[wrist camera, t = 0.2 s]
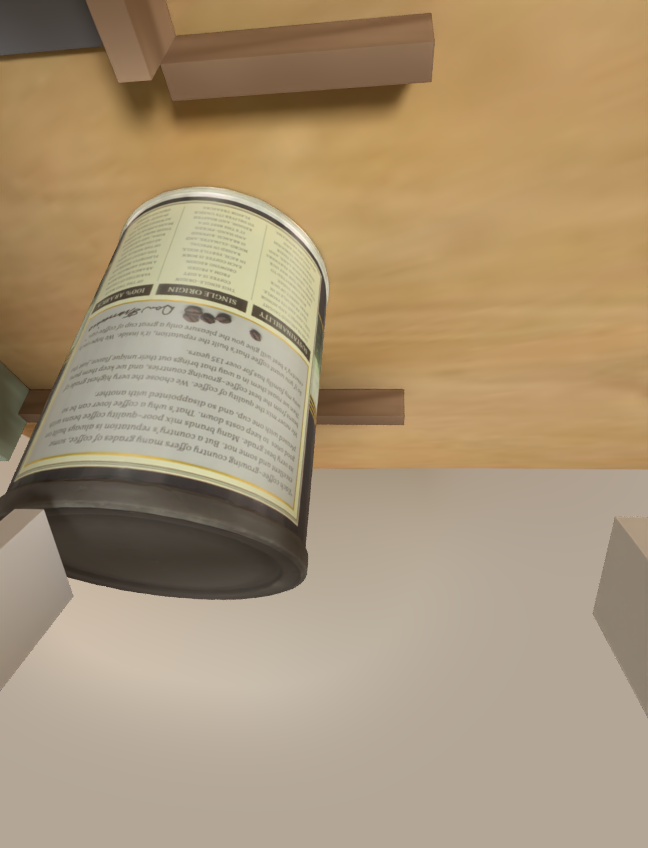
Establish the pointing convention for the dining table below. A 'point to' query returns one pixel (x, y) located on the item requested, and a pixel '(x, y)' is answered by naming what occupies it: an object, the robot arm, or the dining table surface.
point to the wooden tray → (214, 78)
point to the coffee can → (187, 406)
